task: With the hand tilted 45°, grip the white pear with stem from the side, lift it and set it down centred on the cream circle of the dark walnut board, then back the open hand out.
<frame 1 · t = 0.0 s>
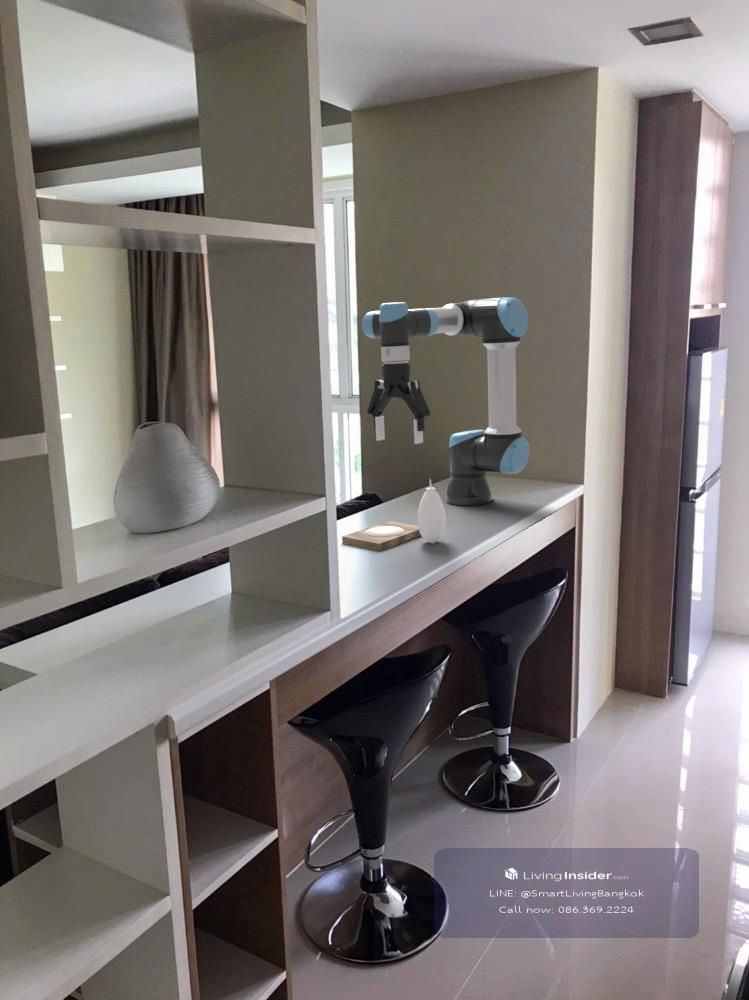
hand: (399, 441, 225), 28 cm above the counter, tool pointing down, fingers open, 13 cm apart
walnut board: (384, 538, 235), on the counter
white pear with stem: (432, 543, 229), on the counter
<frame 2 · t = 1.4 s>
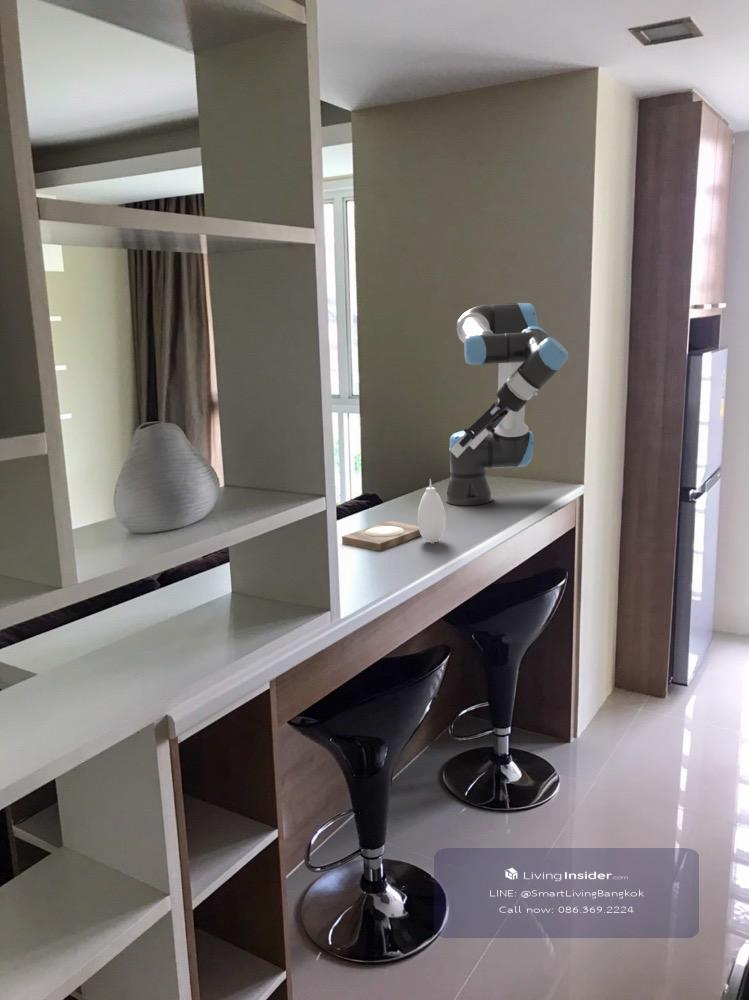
hand: (462, 449, 219), 26 cm above the counter, tool tilted 45°, fingers open, 13 cm apart
nothing on the counter moved.
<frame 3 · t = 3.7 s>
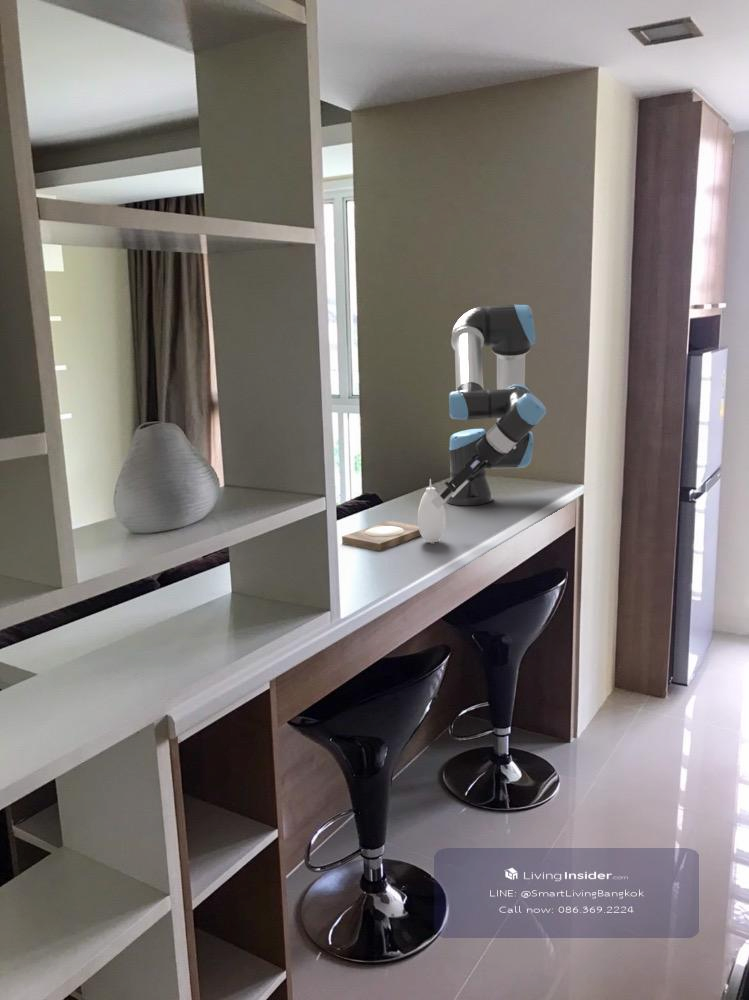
hand: (442, 499, 223), 13 cm above the counter, tool tilted 45°, fingers open, 13 cm apart
nothing on the counter moved.
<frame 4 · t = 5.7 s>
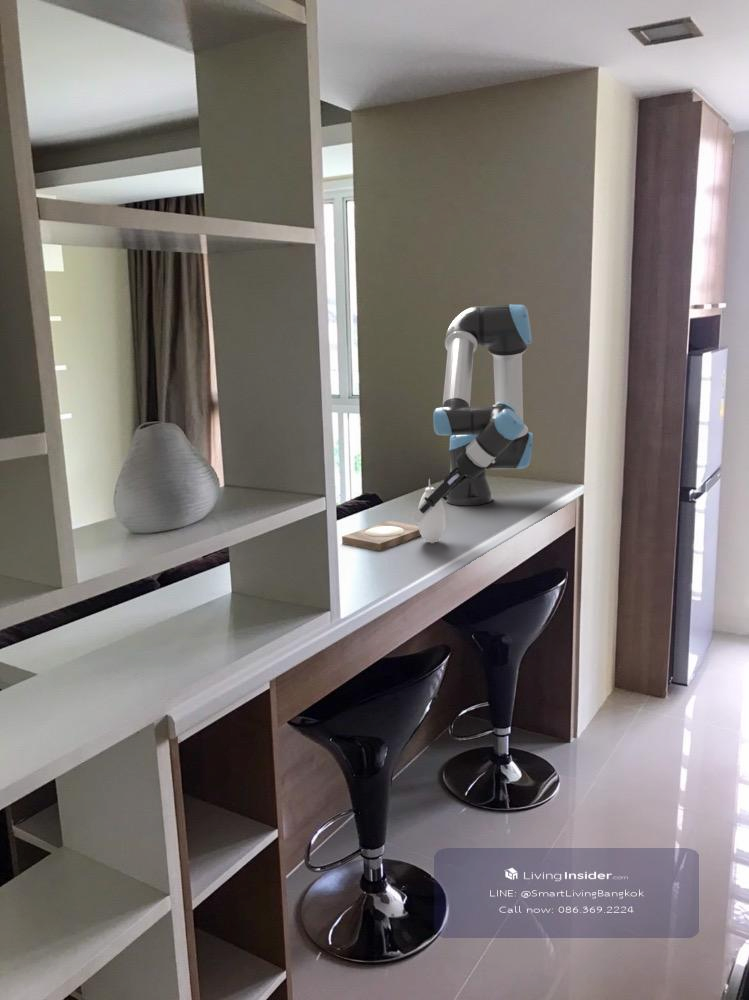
hand: (419, 515, 228), 8 cm above the counter, tool tilted 45°, fingers closed on white pear with stem, 7 cm apart
white pear with stem: (432, 543, 228), on the counter, touching gripper
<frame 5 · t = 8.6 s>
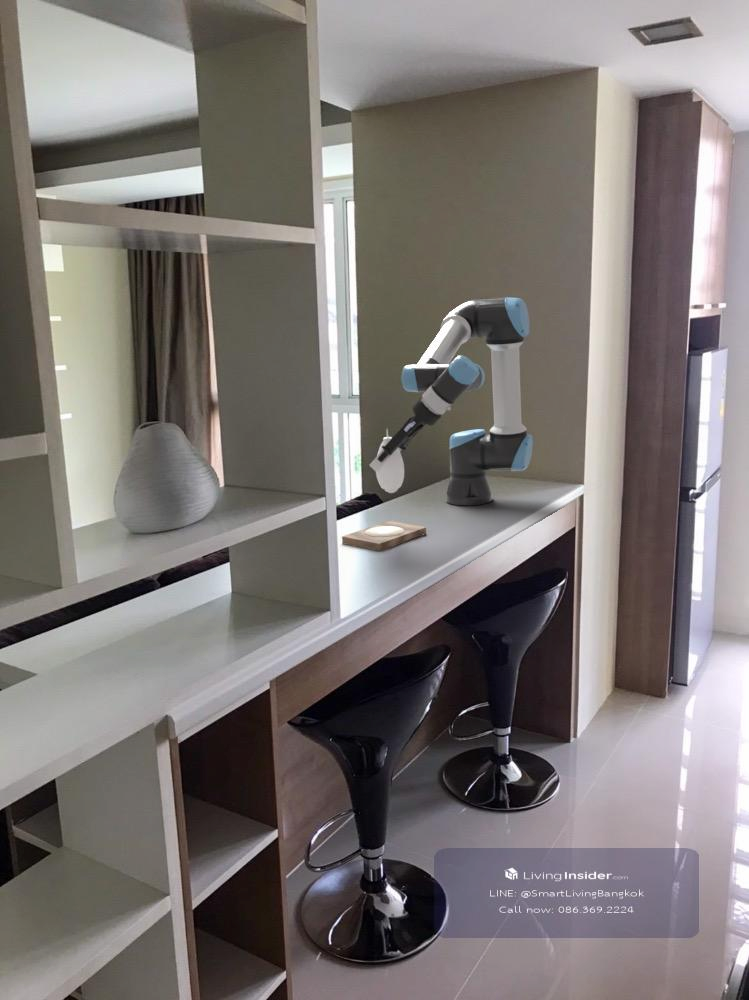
hand: (378, 465, 230), 21 cm above the counter, tool tilted 45°, fingers closed on white pear with stem, 7 cm apart
white pear with stem: (391, 492, 230), point 13 cm above the counter, touching gripper
when the fingers open (11 cm above the counter, at t = 11.8 s): white pear with stem drops 1 cm, resting on walnut board.
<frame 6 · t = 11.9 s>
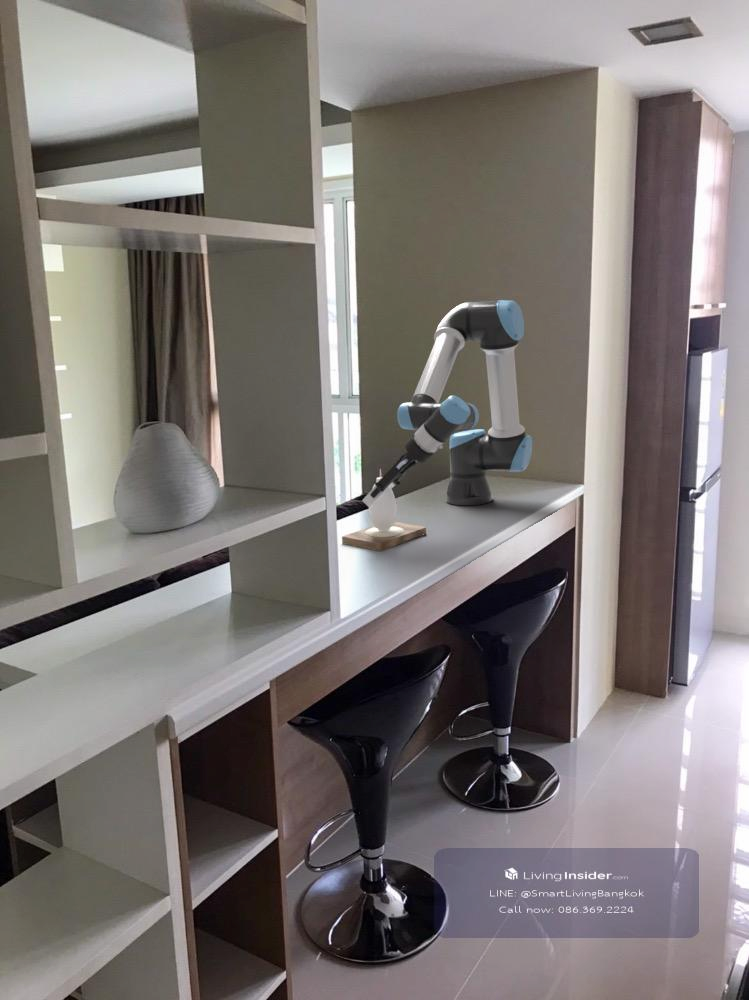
hand: (371, 500, 234), 11 cm above the counter, tool tilted 45°, fingers open, 8 cm apart
white pear with stem: (384, 531, 234), point 2 cm above the counter, touching walnut board
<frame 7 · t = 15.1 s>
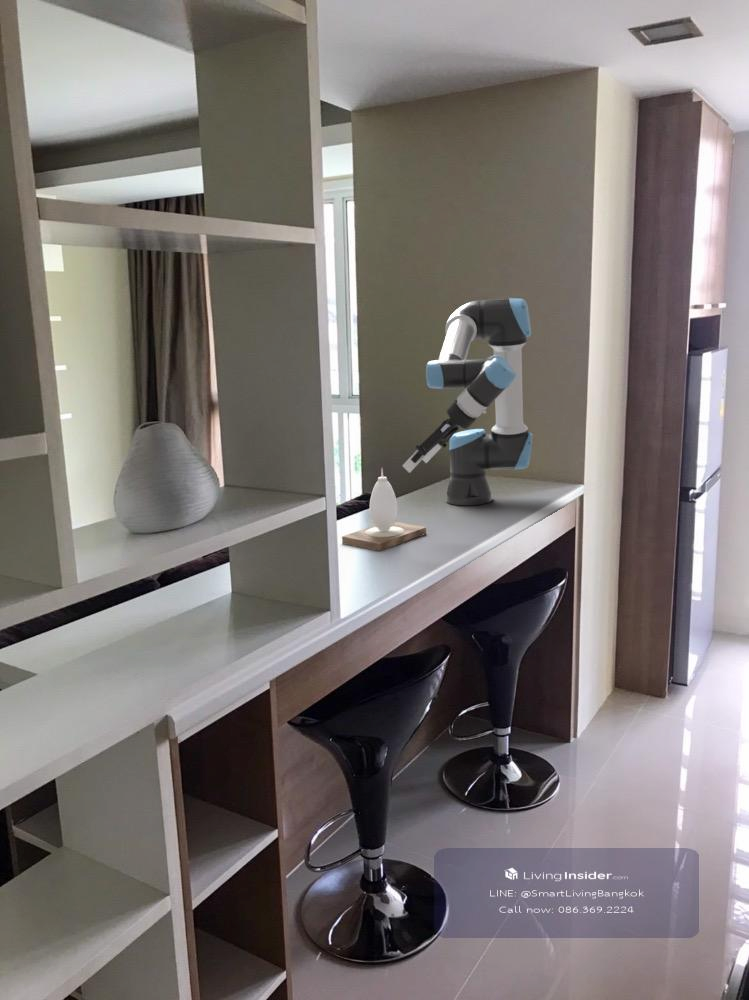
hand: (414, 464, 226), 22 cm above the counter, tool tilted 45°, fingers open, 13 cm apart
nothing on the counter moved.
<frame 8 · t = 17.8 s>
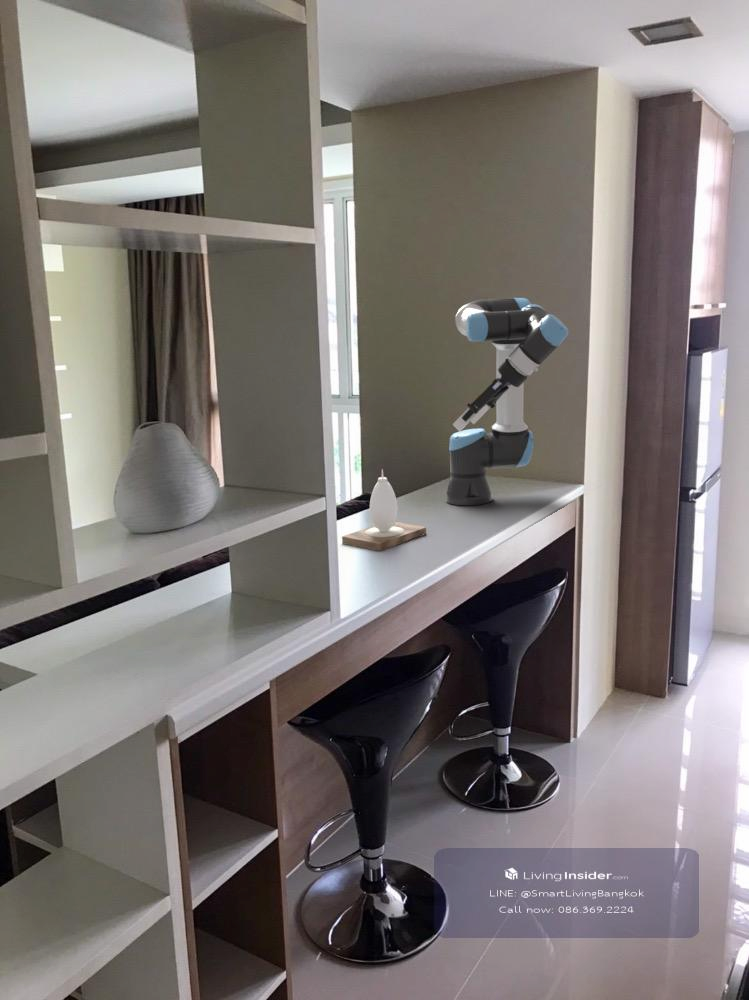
hand: (463, 424, 225), 32 cm above the counter, tool tilted 45°, fingers open, 13 cm apart
at the end: white pear with stem 0.1 cm off-centre on the walnut board, point 2.0 cm above the walnut board's base; white pear with stem tilted 1°; the gripper is holding nothing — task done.
